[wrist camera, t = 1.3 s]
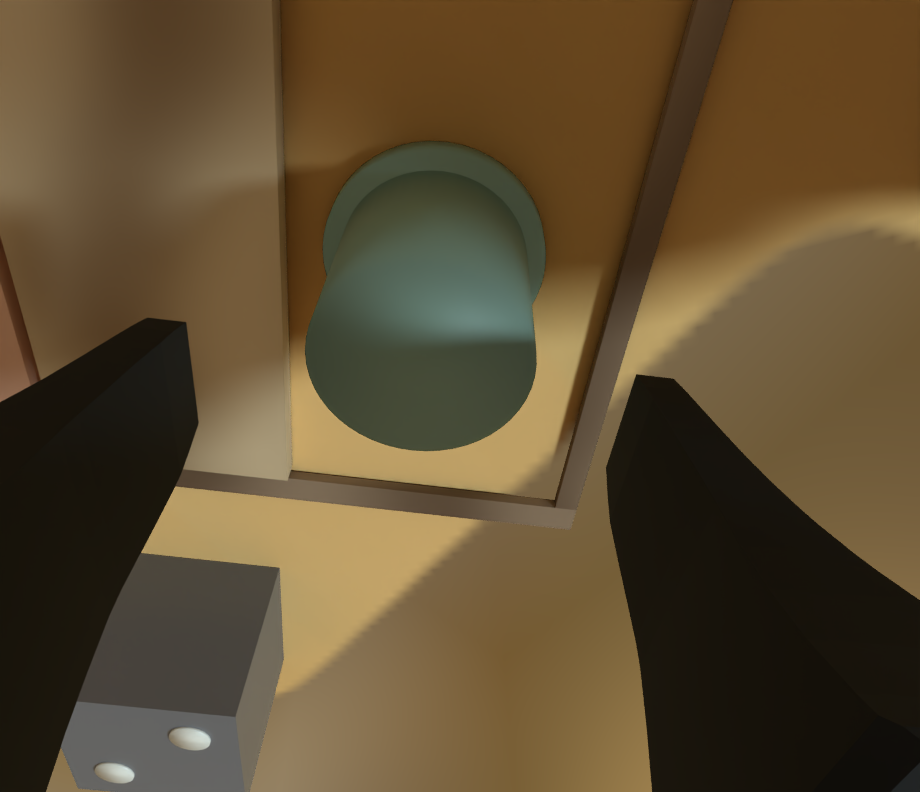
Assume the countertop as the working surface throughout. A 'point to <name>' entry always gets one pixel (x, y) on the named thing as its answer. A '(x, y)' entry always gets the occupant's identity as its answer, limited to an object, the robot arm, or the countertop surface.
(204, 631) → the die
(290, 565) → the countertop surface
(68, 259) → the board
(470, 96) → the countertop surface
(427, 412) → the teal flanged knob
